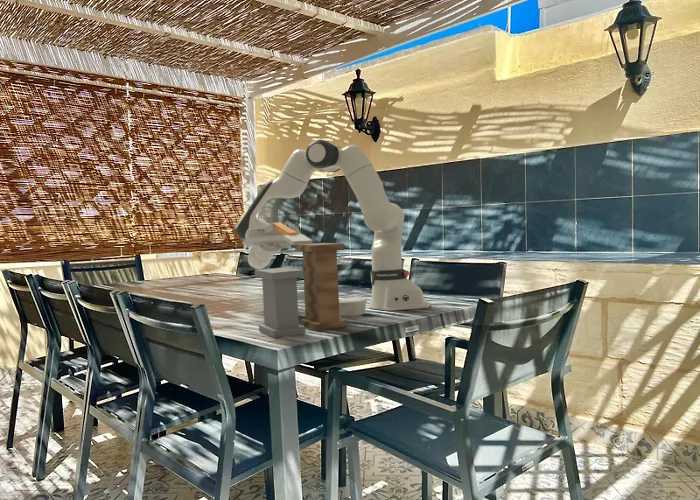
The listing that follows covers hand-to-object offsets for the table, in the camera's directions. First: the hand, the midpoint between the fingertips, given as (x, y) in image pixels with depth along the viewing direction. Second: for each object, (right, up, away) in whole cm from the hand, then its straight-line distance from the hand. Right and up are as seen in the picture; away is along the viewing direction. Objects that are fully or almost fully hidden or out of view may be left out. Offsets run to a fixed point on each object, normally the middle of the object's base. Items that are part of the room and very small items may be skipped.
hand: (278, 224), depth 194 cm
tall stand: (+17, -33, -22) cm, 43 cm away
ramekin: (+26, -32, -3) cm, 41 cm away
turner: (+4, -4, -7) cm, 9 cm away
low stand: (+5, -34, -29) cm, 45 cm away
